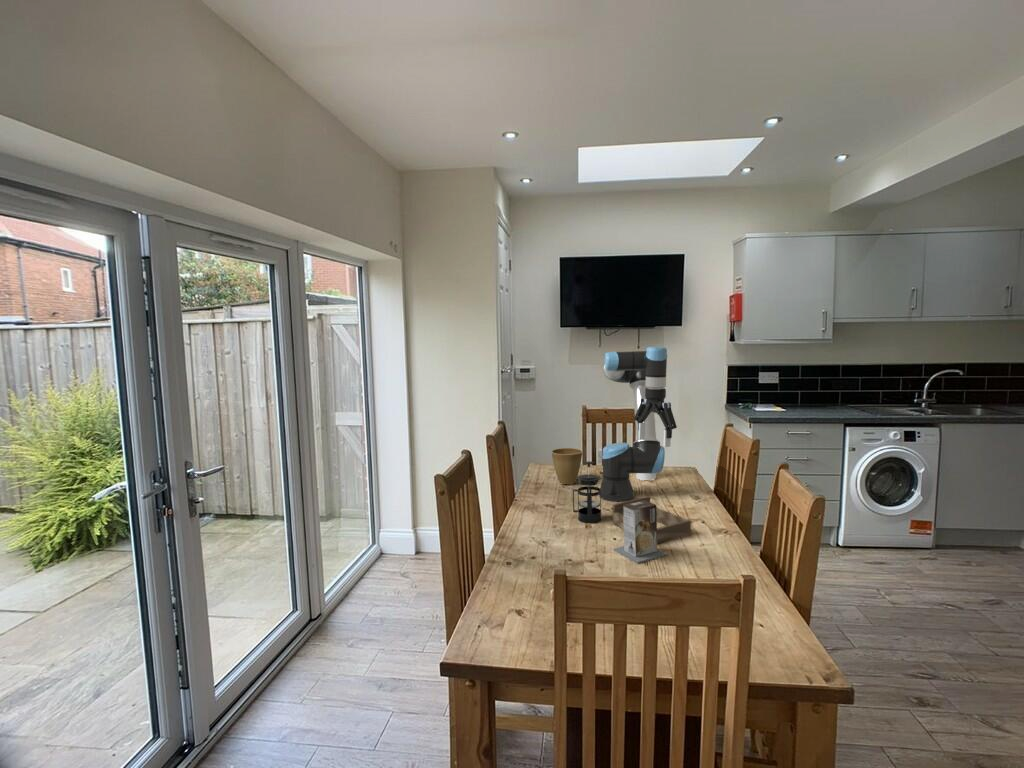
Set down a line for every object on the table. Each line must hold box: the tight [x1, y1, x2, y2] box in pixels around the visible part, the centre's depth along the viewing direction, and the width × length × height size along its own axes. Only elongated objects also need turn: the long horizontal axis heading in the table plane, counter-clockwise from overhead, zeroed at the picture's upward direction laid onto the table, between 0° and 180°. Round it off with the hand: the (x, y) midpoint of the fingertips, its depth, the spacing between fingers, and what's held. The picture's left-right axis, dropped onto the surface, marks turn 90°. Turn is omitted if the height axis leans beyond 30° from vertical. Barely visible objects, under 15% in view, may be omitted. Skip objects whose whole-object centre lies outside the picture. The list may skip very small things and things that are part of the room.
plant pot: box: [551, 447, 583, 485], centre depth 258 cm, size 15×15×16 cm
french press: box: [572, 460, 603, 524], centre depth 208 cm, size 12×9×23 cm
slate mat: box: [613, 545, 667, 565], centre depth 176 cm, size 12×12×1 cm
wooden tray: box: [612, 496, 692, 545], centre depth 196 cm, size 22×17×8 cm
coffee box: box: [623, 500, 658, 557], centre depth 175 cm, size 9×6×16 cm
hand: (654, 443), depth 203 cm, fingers open, 13 cm apart
